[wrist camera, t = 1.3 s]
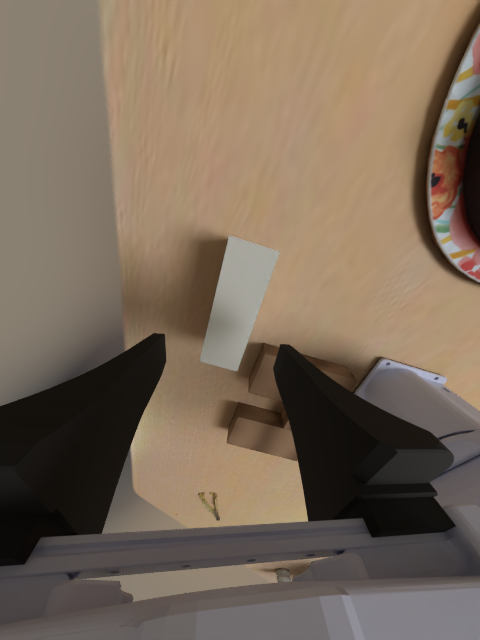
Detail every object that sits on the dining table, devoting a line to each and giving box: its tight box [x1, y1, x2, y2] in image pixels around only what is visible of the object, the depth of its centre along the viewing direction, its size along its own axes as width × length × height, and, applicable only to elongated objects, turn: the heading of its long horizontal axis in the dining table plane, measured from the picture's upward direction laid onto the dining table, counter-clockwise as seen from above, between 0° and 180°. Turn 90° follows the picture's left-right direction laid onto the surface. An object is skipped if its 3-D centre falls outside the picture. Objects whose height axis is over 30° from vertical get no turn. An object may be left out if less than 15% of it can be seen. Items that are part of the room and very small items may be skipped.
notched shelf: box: [227, 343, 357, 461], centre depth 26 cm, size 12×18×2 cm, turn 163°
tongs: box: [199, 492, 220, 521], centre depth 41 cm, size 4×13×2 cm, turn 14°
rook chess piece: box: [276, 569, 291, 583], centre depth 51 cm, size 4×4×8 cm
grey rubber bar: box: [200, 236, 280, 372], centre depth 18 cm, size 4×12×6 cm, turn 164°
